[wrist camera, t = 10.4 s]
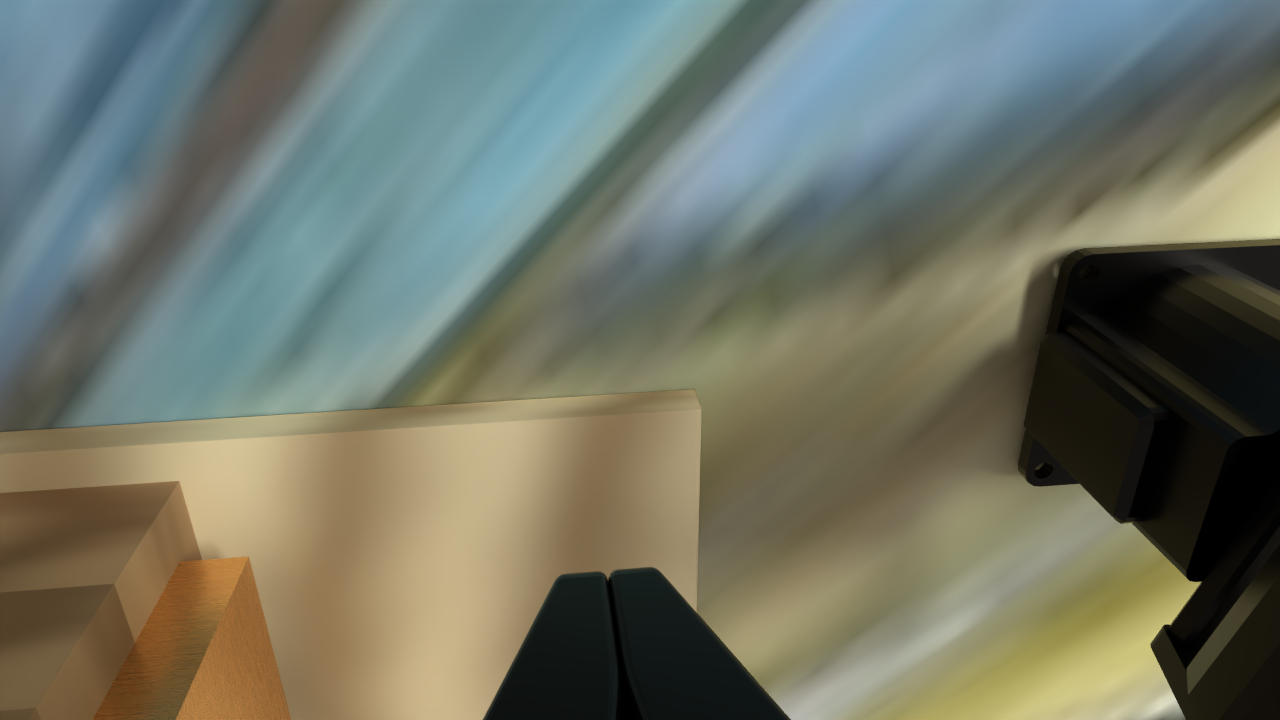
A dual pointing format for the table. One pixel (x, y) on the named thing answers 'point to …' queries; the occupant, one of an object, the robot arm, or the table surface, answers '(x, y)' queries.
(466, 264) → the table surface
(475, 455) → the hitch block
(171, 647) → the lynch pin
